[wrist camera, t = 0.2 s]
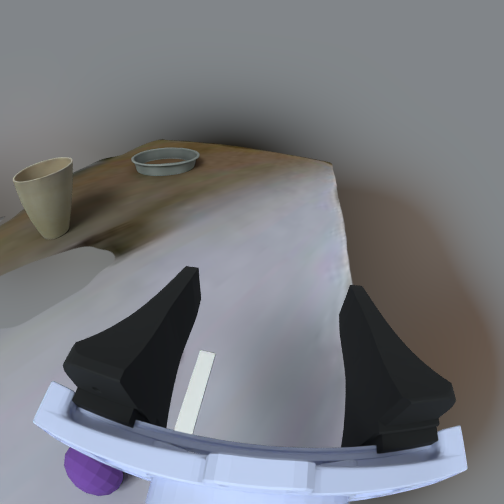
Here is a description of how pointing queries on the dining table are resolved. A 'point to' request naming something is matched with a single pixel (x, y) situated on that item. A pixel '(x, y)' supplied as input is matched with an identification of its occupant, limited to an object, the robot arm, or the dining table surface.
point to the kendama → (91, 474)
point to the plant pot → (47, 195)
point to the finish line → (195, 393)
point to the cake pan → (166, 168)
